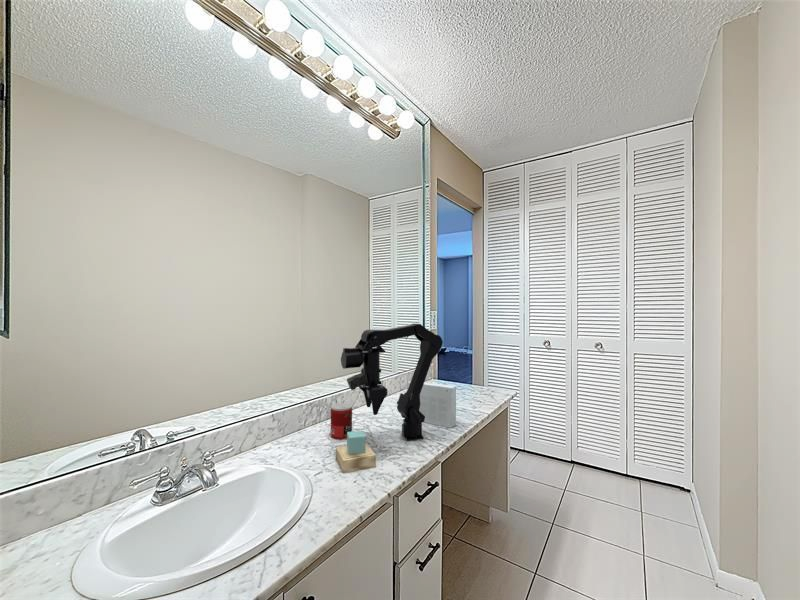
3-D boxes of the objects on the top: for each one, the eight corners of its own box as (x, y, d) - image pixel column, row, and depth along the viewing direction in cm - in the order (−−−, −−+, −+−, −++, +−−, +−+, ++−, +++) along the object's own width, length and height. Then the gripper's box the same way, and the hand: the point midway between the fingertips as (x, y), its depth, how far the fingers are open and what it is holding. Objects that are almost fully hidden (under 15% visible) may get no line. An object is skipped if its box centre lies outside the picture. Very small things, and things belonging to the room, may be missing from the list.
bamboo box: (365, 454, 110) (365, 441, 110) (375, 468, 101) (375, 454, 101) (335, 460, 106) (335, 446, 106) (343, 474, 97) (343, 460, 97)
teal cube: (362, 446, 106) (363, 430, 106) (365, 453, 101) (365, 436, 102) (346, 448, 105) (347, 431, 105) (348, 454, 100) (349, 438, 100)
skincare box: (456, 424, 137) (456, 385, 137) (451, 428, 132) (451, 388, 133) (412, 415, 148) (412, 379, 149) (405, 419, 144) (406, 381, 144)
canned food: (347, 440, 120) (348, 409, 120) (327, 438, 122) (327, 408, 122) (354, 432, 128) (355, 403, 128) (335, 431, 129) (335, 402, 130)
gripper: (343, 363, 123) (344, 405, 123) (354, 372, 106) (354, 422, 105) (373, 361, 127) (373, 402, 127) (387, 370, 109) (388, 418, 109)
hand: (371, 410), depth 117 cm, fingers open, 9 cm apart
